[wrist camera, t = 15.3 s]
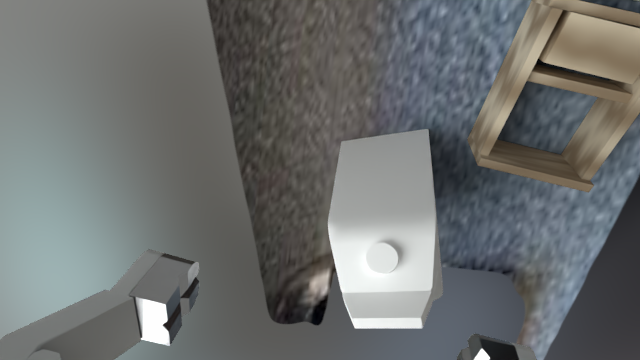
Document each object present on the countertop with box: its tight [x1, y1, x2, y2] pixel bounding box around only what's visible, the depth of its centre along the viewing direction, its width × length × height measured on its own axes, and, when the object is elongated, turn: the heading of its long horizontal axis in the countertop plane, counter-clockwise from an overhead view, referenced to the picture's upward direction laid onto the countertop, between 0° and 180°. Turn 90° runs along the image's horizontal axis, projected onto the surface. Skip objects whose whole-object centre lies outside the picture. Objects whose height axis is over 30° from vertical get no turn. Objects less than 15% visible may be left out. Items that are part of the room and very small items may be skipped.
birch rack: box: [467, 0, 640, 192], centre depth 39 cm, size 18×13×7 cm
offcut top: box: [538, 10, 640, 84], centre depth 36 cm, size 5×9×2 cm, turn 79°
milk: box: [328, 129, 443, 328], centre depth 41 cm, size 12×12×26 cm
